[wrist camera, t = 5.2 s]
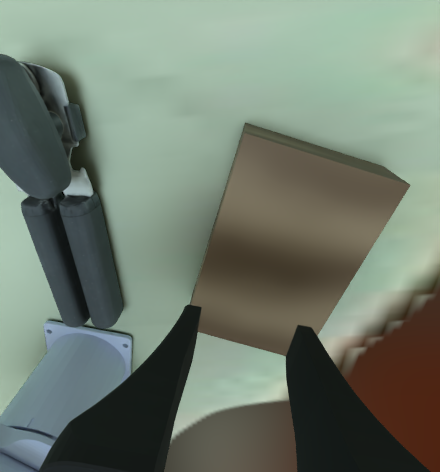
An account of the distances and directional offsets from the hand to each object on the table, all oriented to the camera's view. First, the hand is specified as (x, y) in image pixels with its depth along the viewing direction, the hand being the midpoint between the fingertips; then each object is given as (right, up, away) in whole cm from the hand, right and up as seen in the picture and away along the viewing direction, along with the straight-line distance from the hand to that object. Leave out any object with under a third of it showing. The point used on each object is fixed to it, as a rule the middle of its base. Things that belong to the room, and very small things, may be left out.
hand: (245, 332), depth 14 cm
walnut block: (+3, +4, +9) cm, 10 cm away
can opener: (-12, +6, +9) cm, 16 cm away
